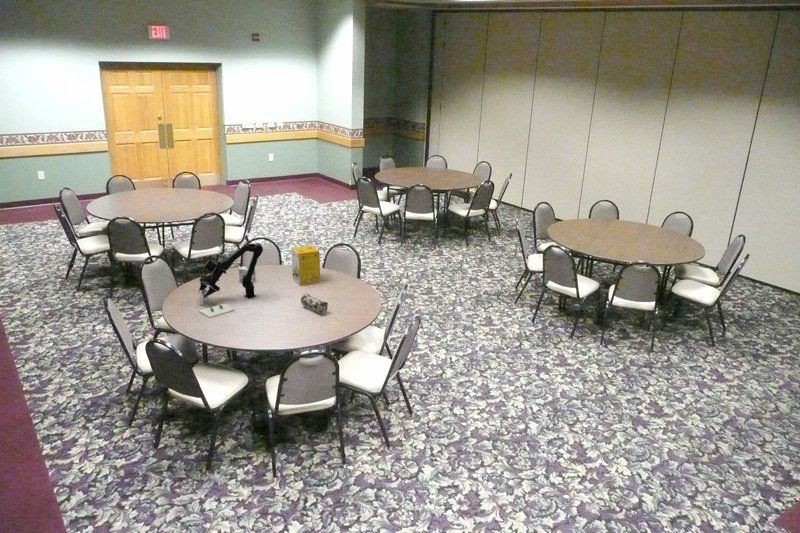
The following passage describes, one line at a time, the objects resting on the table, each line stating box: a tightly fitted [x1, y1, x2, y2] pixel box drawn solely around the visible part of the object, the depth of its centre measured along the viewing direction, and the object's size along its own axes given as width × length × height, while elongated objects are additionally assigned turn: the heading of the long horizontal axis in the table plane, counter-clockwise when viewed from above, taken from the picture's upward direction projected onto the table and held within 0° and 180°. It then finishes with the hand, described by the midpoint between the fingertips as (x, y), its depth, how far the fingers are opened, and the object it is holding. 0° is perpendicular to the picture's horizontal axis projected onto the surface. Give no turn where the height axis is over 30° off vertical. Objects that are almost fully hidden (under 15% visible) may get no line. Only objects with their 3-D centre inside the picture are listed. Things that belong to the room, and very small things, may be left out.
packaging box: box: [290, 245, 321, 287], centre depth 439 cm, size 16×16×25 cm
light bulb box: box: [238, 266, 257, 284], centre depth 438 cm, size 11×7×11 cm, turn 84°
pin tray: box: [198, 303, 236, 319], centre depth 385 cm, size 14×18×4 cm
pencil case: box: [300, 292, 329, 315], centre depth 390 cm, size 22×8×10 cm, turn 45°
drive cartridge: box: [198, 288, 209, 307], centre depth 395 cm, size 4×4×10 cm
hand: (202, 294), depth 394 cm, fingers open, 9 cm apart
